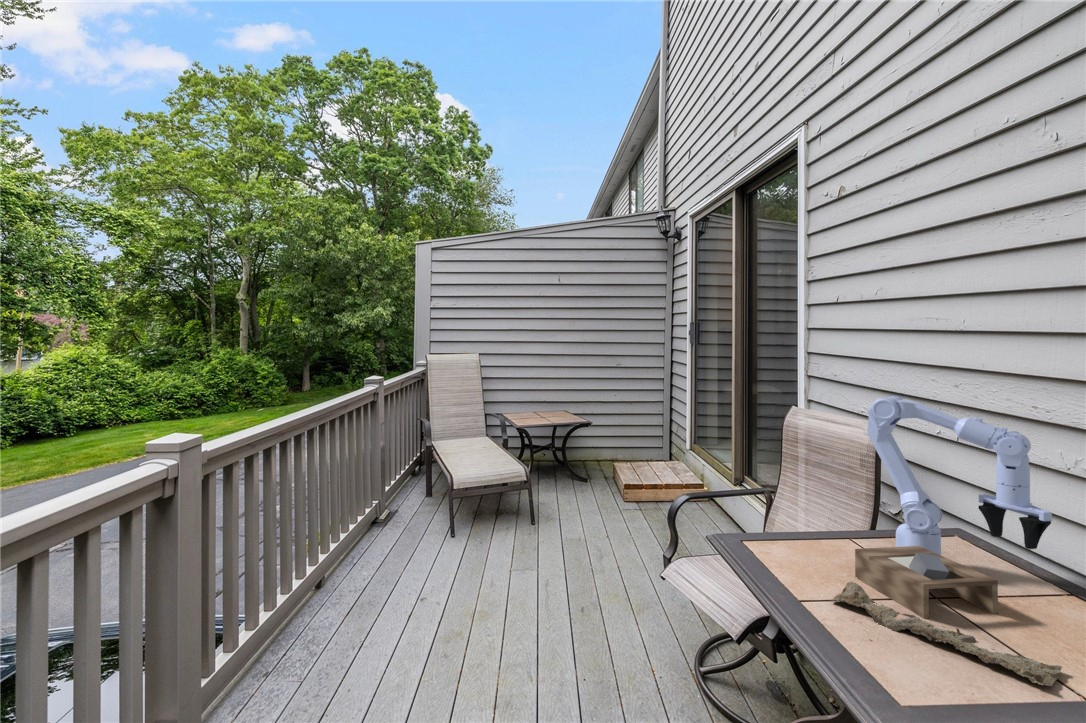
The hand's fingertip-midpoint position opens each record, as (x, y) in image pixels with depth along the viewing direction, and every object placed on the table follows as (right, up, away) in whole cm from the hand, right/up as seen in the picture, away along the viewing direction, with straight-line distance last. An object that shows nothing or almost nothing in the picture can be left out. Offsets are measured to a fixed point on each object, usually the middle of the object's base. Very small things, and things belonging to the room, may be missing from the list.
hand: (1013, 542), depth 113 cm
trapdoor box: (-24, -11, -3) cm, 27 cm away
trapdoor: (-24, -6, -2) cm, 25 cm away
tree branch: (-35, -11, -19) cm, 41 cm away
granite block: (-24, -6, -4) cm, 25 cm away
